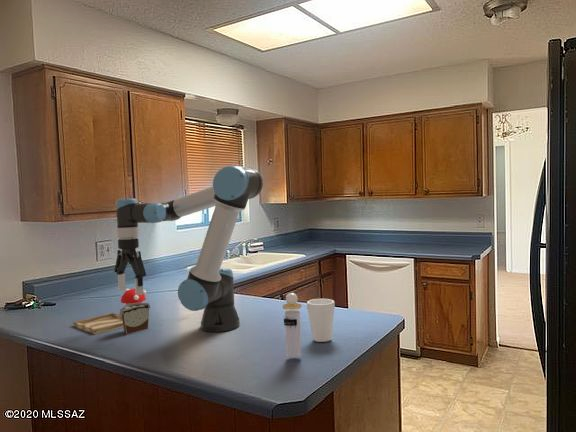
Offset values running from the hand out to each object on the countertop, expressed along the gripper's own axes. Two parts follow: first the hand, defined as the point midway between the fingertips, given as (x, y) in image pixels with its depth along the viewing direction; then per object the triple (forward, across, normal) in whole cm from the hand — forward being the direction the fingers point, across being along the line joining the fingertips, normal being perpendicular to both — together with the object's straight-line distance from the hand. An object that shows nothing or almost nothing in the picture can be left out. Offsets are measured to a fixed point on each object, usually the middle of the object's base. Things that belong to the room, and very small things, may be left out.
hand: (130, 292), depth 175 cm
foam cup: (+14, -67, -34) cm, 77 cm away
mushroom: (+15, +23, -13) cm, 30 cm away
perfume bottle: (+14, -71, -15) cm, 74 cm away
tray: (+15, +18, +3) cm, 23 cm away
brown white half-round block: (+15, 0, 0) cm, 15 cm away
